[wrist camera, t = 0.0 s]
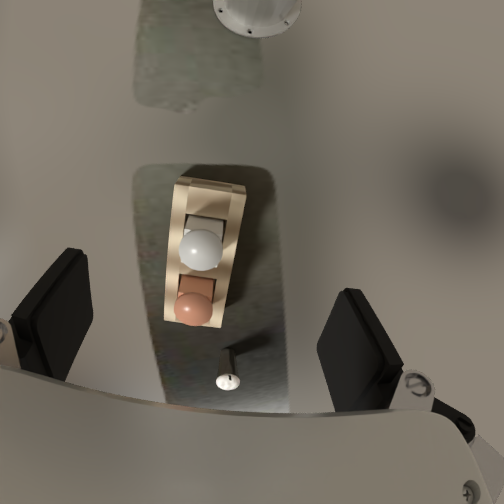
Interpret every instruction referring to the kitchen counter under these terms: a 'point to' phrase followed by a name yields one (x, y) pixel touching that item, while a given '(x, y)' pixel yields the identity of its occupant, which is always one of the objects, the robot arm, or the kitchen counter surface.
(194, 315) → the terracotta button
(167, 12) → the kitchen counter surface
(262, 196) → the kitchen counter surface
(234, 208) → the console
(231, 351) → the milkshake
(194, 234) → the grey button
